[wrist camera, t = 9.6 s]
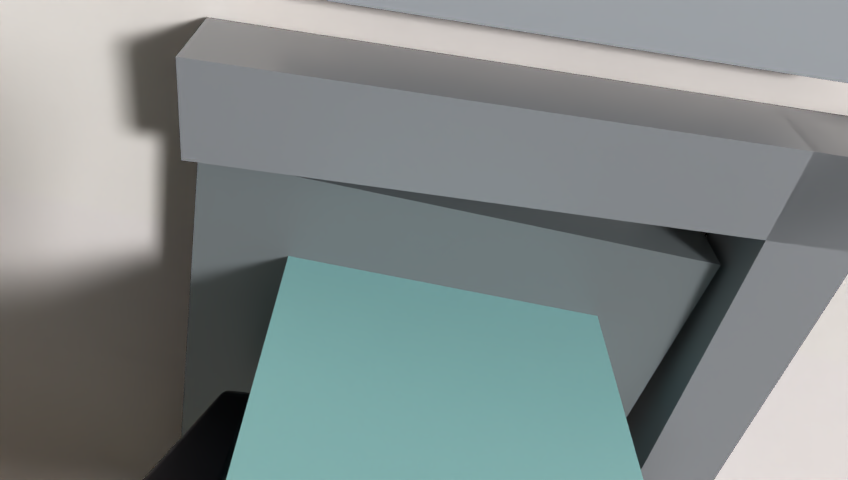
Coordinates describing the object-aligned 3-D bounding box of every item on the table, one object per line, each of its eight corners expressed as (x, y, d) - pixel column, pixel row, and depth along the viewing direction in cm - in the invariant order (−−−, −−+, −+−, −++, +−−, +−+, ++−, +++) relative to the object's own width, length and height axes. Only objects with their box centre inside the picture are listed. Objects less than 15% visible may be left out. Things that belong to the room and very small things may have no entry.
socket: (591, 593, 15) (602, 651, 14) (162, 552, 15) (142, 611, 14) (863, 118, 9) (916, 167, 8) (99, 0, 8) (52, 37, 7)
